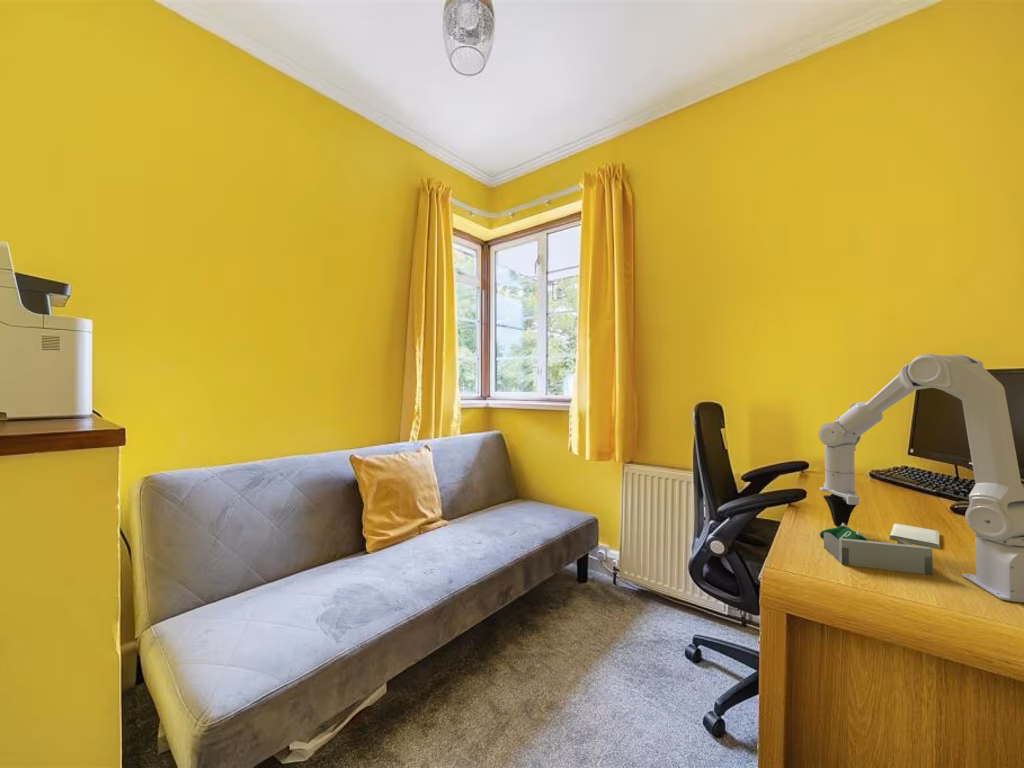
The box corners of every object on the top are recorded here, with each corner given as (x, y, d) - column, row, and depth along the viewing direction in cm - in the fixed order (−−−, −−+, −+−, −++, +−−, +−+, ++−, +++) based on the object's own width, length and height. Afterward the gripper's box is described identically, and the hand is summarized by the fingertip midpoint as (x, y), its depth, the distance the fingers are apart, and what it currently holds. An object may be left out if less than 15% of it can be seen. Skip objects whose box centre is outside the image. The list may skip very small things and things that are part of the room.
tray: (932, 575, 77) (932, 549, 77) (841, 564, 82) (841, 540, 82) (904, 556, 86) (904, 532, 86) (824, 547, 91) (823, 525, 91)
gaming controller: (853, 561, 88) (875, 543, 87) (839, 548, 88) (861, 530, 88) (828, 545, 97) (848, 529, 96) (816, 533, 97) (836, 517, 97)
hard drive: (939, 544, 90) (939, 530, 98) (889, 534, 96) (893, 522, 104) (939, 551, 90) (939, 537, 98) (889, 541, 96) (893, 528, 104)
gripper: (809, 465, 107) (810, 515, 107) (832, 476, 94) (833, 534, 94) (841, 466, 105) (842, 518, 105) (869, 478, 91) (870, 538, 91)
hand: (840, 526), depth 99 cm, fingers closed
